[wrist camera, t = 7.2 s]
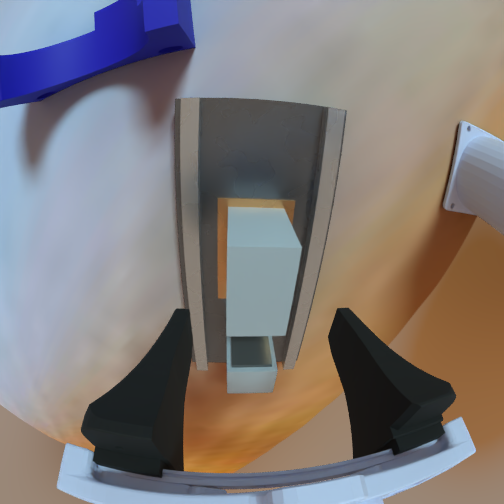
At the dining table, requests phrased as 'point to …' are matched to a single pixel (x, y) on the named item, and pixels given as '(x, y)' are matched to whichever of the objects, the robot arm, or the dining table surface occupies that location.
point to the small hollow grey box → (250, 364)
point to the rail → (251, 201)
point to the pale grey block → (260, 271)
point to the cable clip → (98, 49)
